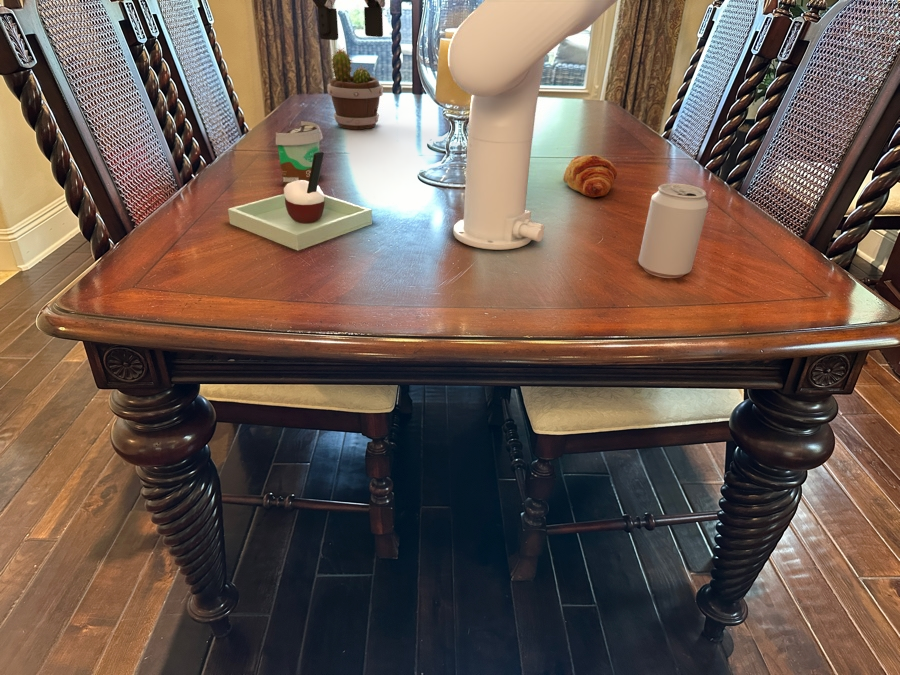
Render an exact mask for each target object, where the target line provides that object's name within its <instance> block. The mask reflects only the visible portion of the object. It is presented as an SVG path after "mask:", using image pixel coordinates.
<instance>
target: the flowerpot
mask: <svg viewBox="0 0 900 675" xmlns="http://www.w3.org/2000/svg"><path fill="white" fill-rule="evenodd" d="M328 60H330V61H329V63H330V64H329V65H328V66H330V70H331V71H332V76H333V77H332V78H331V79H330V82H329V83H328V84H327V86H326V87H327V88H326V90H327V94H328V95H329V96H330V97H331V102H332V105H333V108H334V111H335V112H334V113H333V117H334V121H335V123H337V126H338V127H339V128H341V129H347V130H354V131H355V130H365V129H372V128H375V127H376V124H377V123H378V121H379V117H380V114H379V113H378V111H379V105H380V97H382V96H383V94H384V85H383V84H381V83H380V81H379V80H378V79H377V78H376V77H374V76H371V74H370V71H369V70H370V68H369V69H368V68H366V66H363V65H362V64H359V67H357V68H356V69H355V70H353V66H352V64H353V62H354V60H353V59H352V55H350V53H347V52H346V50H345V47H343V48H341V46H340V45H338V48H337V47H335V51H333V53H332V55H331V57H330V58H329V59H328Z"/></svg>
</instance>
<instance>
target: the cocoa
mask: <svg viewBox="0 0 900 675" xmlns="http://www.w3.org/2000/svg"><path fill="white" fill-rule="evenodd" d="M324 156H325V152H323V151H319V152H318V153H315V154H314V157H313V163H312V168H311V173H310V178H309V182H308V181H306V180H298V181H293V182H291V183H288V184H287V185H286V186H284V187H283V194H284V195H285V205H286V209H287V212H288V214H289V215H290V217H291V218H292V219H293V220H295V221H296V222H299V223H313V222H315V221H317V220H319V219H320V218H321V216H322V214H323V210H324V205H325V198H324V195H325V194H324V192H323V190H322V188H321V187H320V186H319V180H320V176H321V171H322V167H323V161H324ZM323 194H324V195H323Z"/></svg>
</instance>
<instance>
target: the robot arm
mask: <svg viewBox="0 0 900 675" xmlns="http://www.w3.org/2000/svg"><path fill="white" fill-rule="evenodd" d="M364 2H365V4H366V6H364V9H363V13H364V14H363V15H364V34H365V36H366V37H375V38H381V37H383V36H384V24H383V22H384V21H383V19H384V18H383V8H385V6H386V0H364ZM617 2H618V0H483V1H482V2H481V3H480V4H479V5H478V6H477V7H476V8H475V9H474V10H473V11H472V12H471V13H470V14H469V15H468V16H467V17H466V18H465V19H464V20H463V21H462V23H460V25H459V26H458V27H457V29H456V30H455V31H454V34H453V36H452V38H451V40H450V42H449V46H448V50H447V51H448V52H447V65H448V70H449V73H450V75H451V77H452V79H453V81H454V83H455V84H456V85H457V86H458V87H459V88H460V89H461V90H462V91H464V92H465V93H467V94H469V95H471V100H470V106H469V115H468V127H467V128H468V130H467V144H466V163H465V165H466V166H465V186H464V187H465V188H464V205H463V206H464V207H463V219H460V220H458V221H457V222H456V223H455V224H454V225H453V229H452V230H453V231H452V232H453V234H452V235H453V236H454V238H455V239H456V240H458V242H460V243H462V244H464V245H467V246H470V247H473V248H477V249H482V250H493V251H494V250H495V251H503V250H513V249H519V248H521V247H524V246H526V245H528V244H529V243H530V242H531V241H535V242H537V243H538V242H541V241H542V240H543V238H544V235H545V234H544V233H545V232H544V231H545V225H544V224H542V223H538V222H534V221H532V220H531V215H532V211H531V210H527V209H526V203H527V195H528V184H529V176H530V165H531V156H532V155H531V154H532V145H533V137H534V128H535V120H536V111H537V104H538V98H539V92H540V88H541V83H542V78H543V73H544V67H545V60H546V58H545V57H546V55H548V54H549V53H550V52H551V51H552V50H554V48H556V47H558V45H559V44H561V43H562V42H563V41H564V40H566V39H568V37H571V36H575V35H578V34H580V33H583V32H584V31H586V30H587V29H588V28H589V27H591V26H592V25H593V24H594V23H595V22H596V21H597V20H598V19H599V18H600V17H601V16H602V15H603V14H604V13H605V12H606V11H607V10H608V9H609V8H610V7H612V6H613V5H614V4H615V3H617ZM335 3H336V0H312V5H313V7H314V8H316V9H317V18H318V31H319V32H318V33H319V38H320V39H321V40H327V41H338V39H339V26H338V12H337V8H333V7H334V5H335Z"/></svg>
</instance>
